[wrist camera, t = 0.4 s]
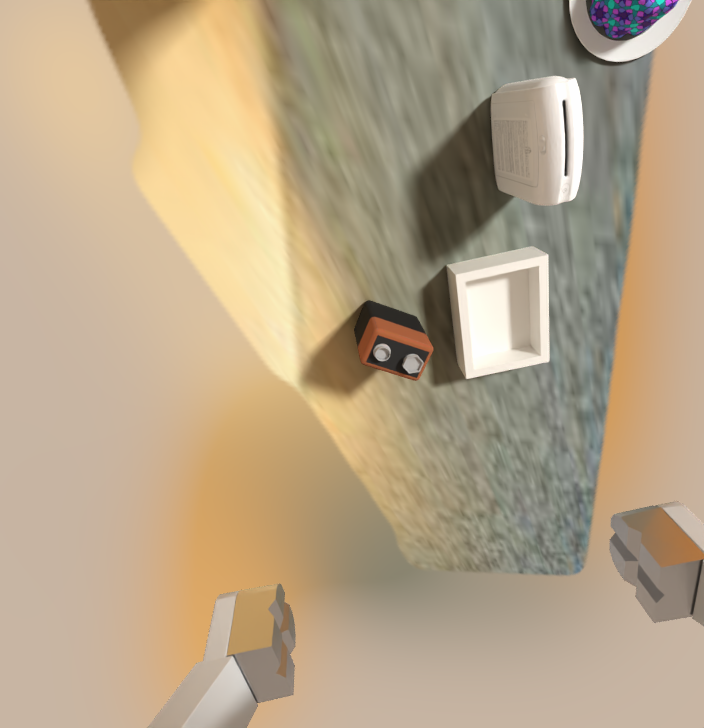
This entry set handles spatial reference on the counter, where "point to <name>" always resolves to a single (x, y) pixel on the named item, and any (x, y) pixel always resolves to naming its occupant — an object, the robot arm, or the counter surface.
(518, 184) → the photo printer
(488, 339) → the trough
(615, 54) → the pudding
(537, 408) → the counter surface
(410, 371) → the battery
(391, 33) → the counter surface
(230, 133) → the counter surface
